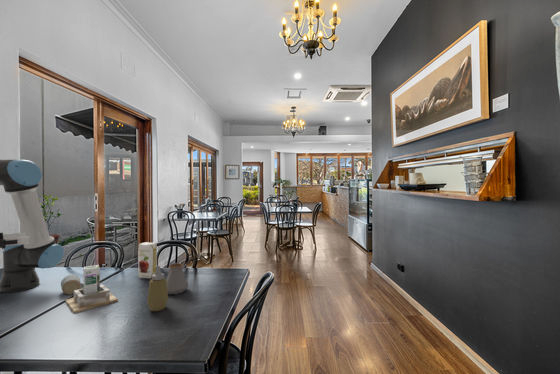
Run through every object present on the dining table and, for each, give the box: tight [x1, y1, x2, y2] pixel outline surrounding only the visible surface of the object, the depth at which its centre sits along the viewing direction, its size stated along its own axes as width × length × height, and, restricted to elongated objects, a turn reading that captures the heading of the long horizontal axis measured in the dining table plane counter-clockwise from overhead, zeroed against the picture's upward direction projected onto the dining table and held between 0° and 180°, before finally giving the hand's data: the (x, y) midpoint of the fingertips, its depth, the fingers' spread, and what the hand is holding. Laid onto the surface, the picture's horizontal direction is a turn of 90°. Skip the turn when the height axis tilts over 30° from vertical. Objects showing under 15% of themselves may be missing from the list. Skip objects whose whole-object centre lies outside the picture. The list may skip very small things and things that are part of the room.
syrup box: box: [83, 264, 101, 295], centre depth 123 cm, size 6×6×14 cm
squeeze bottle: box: [146, 265, 169, 312], centre depth 116 cm, size 8×8×18 cm
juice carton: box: [137, 241, 158, 280], centre depth 157 cm, size 8×9×19 cm
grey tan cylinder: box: [60, 274, 84, 295], centre depth 134 cm, size 11×8×8 cm
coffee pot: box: [165, 254, 200, 295], centre depth 140 cm, size 21×12×15 cm, turn 155°
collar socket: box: [65, 283, 119, 314], centre depth 123 cm, size 16×16×5 cm
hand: (27, 237), depth 113 cm, fingers open, 13 cm apart
